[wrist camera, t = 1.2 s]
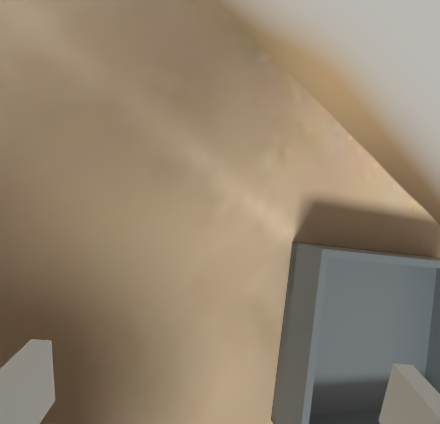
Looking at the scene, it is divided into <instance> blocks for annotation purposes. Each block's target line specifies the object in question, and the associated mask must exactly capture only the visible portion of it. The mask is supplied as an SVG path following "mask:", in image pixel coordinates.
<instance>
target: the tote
mask: <svg viewBox="0 0 440 424" xmlns="http://www.w3.org/2000/svg"><path fill="white" fill-rule="evenodd" d="M393 363H394V364H408V365H413V366H414V367H415V368H416V369H417V370H418V371H419V372H420V373H421V374H422V375H423V377H424V378H425V379H426V380H427V381H428V382H429V383H430V384H431V385H432V386H433V387H434V388H435V389H436V390H437V392H438V393H439V394H440V258H436V257H428V256H419V255H409V254H400V253H391V252H382V251H372V250H363V249H354V248H345V247H335V246H326V245H317V244H308V243H298V242H293V244H292V252H291V260H290V268H289V277H288V285H287V293H286V302H285V310H284V318H283V326H282V335H281V343H280V351H279V359H278V368H277V376H276V384H275V392H274V401H273V409H272V417H271V420H272V422H273V424H380V423H379V421H378V420H379V416H380V413H381V409H382V405H383V401H384V397H385V393H386V389H387V385H388V382H389V378H390V374H391V370H392V366H393Z"/></svg>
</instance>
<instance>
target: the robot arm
mask: <svg viewBox="0 0 440 424" xmlns="http://www.w3.org/2000/svg"><path fill="white" fill-rule="evenodd" d="M54 402H55V387H54V371H53V356H52V340H37V339H31V340H30V341H29V342H27V343H26V344H25V345H24V346H23V347H22V348H21V349H20V350H19V351H18V352H17V353H16V354H15V355H14V356H13V357H12V358H11V359H10V360H9V361H8V362H7V363H6V364H5V365H4V366H3V367H2V368H1V369H0V424H40V423H41V421H42V420H43V418H44V417H45V415H46V414H47V412H48V411H49V409H50V408H51V406H52V405H53V403H54ZM378 421H379V423H380V424H440V394H439V393H438V392H437V390H436V389H435V388H434V387H433V386H432V385H431V384H430V383H429V382H428V381H427V380H426V379H425V378H424V377H423V375H422V374H421V373H420V372H419V371H418V370H417V369H416V368H415V367H414V366H413V365H408V364H394V363H393V366H392V370H391V374H390V378H389V382H388V385H387V389H386V393H385V397H384V401H383V405H382V409H381V413H380V416H379V420H378Z"/></svg>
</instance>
